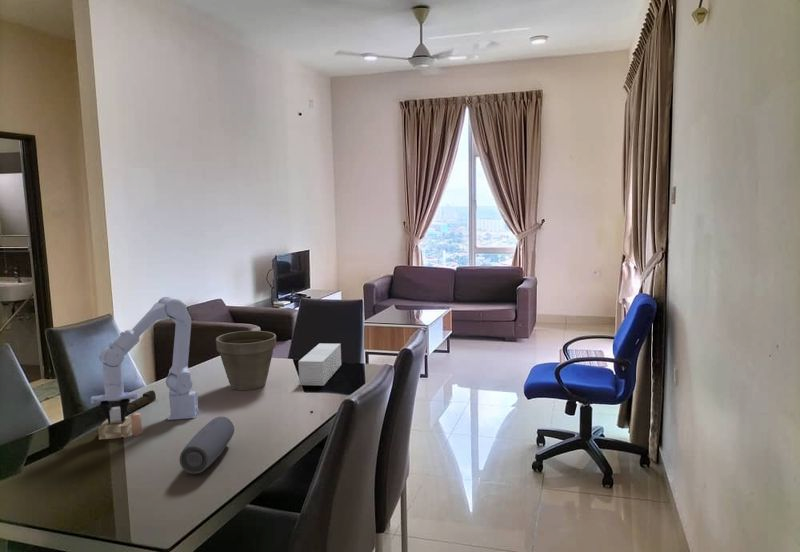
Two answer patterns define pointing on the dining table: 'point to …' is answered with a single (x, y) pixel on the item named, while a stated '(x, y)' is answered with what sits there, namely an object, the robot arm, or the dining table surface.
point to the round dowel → (136, 424)
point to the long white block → (319, 364)
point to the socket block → (115, 429)
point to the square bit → (115, 416)
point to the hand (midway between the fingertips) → (117, 421)
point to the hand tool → (141, 401)
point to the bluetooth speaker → (206, 445)
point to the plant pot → (246, 357)
